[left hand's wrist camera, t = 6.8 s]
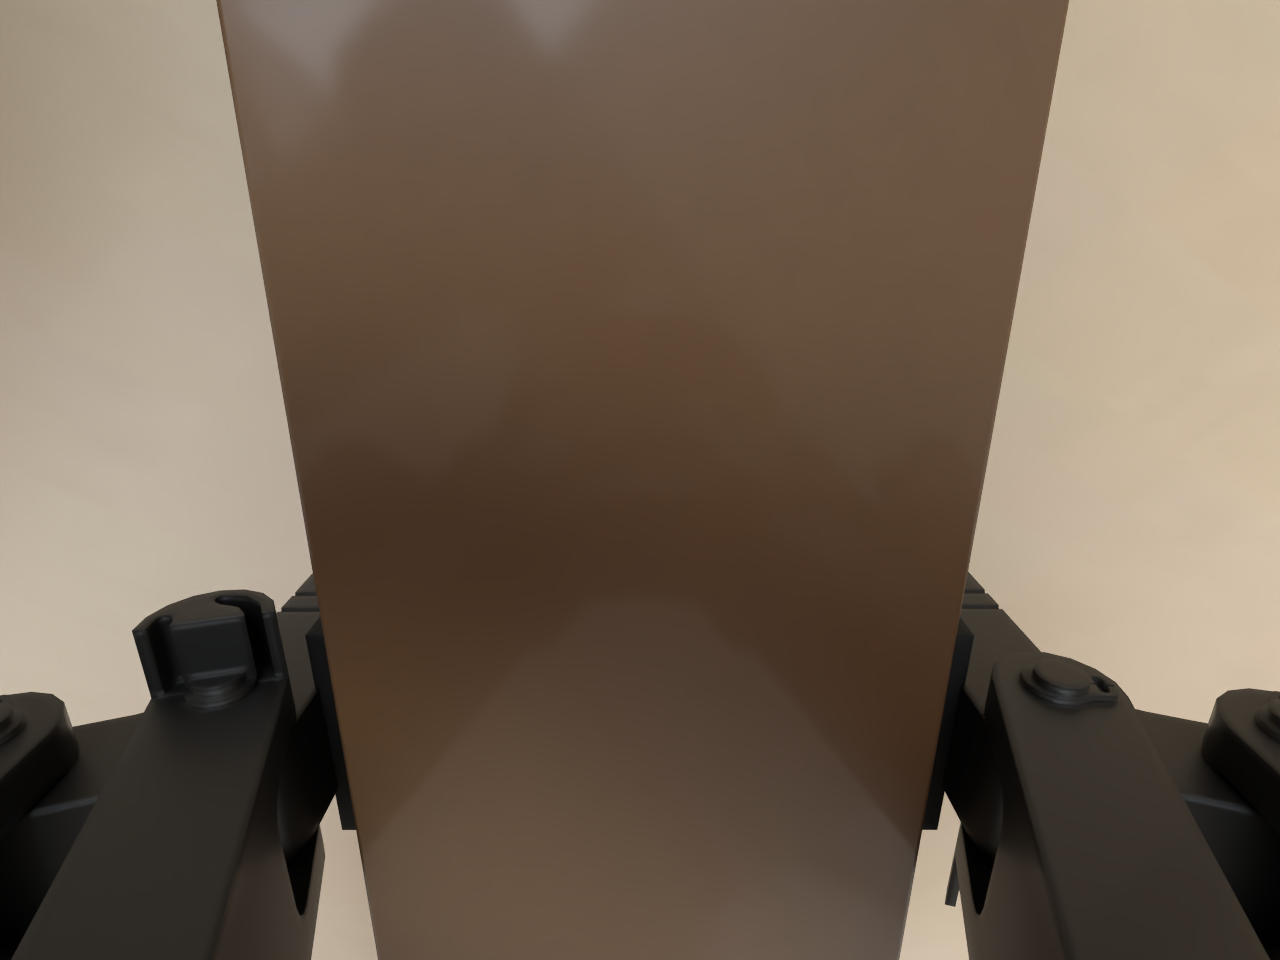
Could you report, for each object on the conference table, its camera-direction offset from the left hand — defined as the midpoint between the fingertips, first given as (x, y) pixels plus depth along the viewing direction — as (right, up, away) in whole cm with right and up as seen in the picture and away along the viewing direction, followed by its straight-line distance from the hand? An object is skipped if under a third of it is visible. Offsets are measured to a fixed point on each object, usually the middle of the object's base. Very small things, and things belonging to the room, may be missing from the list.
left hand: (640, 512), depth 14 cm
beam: (0, +24, -8) cm, 26 cm away
